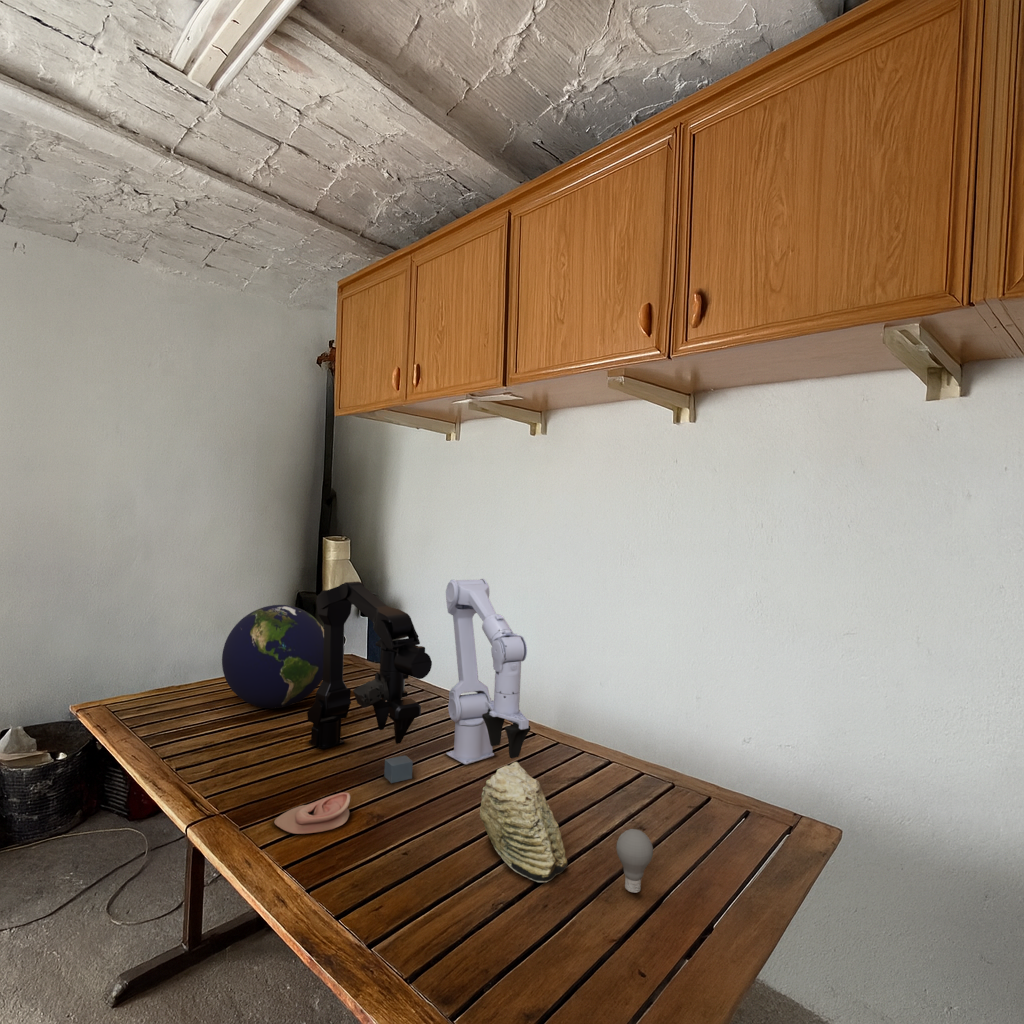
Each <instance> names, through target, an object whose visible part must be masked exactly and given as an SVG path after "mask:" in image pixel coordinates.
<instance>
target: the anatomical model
mask: <svg viewBox="0 0 1024 1024" xmlns="http://www.w3.org/2000/svg"><path fill="white" fill-rule="evenodd" d="M350 803H351V794H350V792H347V791H346V792H339V793H336V794H332V795H329V796H326V797H323V798H321V799H318V800H316V801H313V802H311V803H308V804H303V805H299V806H295V807H293V808H291V809H289V810H287V811H285V812H283V813H282V814H280V815H279V816H277V817H276V818H275V819H274V825H275V826H276V827H278V828H280V829H281V830H283V831H285V832H287V833H289V834H293V835H300V834H301V835H305V834H313V833H322V832H326V831H331V830H334V829H336V828H339V827H341V826H343V825H344V824H345V823H347V821H348V820H349V817H350V809H349V808H348V807H349V806H350Z"/></svg>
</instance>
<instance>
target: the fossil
mask: <svg viewBox="0 0 1024 1024" xmlns="http://www.w3.org/2000/svg"><path fill="white" fill-rule="evenodd" d="M479 819H480V820H481V822H482V823H483V827H484V829H485V832H486V833H487V836H488V838H489V840H490V842H491V844H492V845H493V848H494V850H495V852H496V853H497V854H498V856H500V858H501V859H502V861H503V862H504V863H505V864H506V865H507V867H509V868H510V869H511V870H513V871H514V873H517V874H519V875H520V876H522V877H525V878H527V879H528V880H531V881H533V882H536V883H548V882H550V881H552V880H553V879H554V878H555V877H556V876H557V875H560V874H561V873H563V872H564V871H565V870H566V868H567V867H568V866H569V863H568V859H567V856H566V848H565V847H564V841H563V838H562V834H561V831H560V826H559V824H558V822H557V821H556V818H555V817H554V813H553V811H552V810H551V807H550V805H549V803H548V802H547V799H546V796H545V794H544V790H543V789H542V786H541V784H540V781H539V780H537V779H535V778H533V777H532V776H531V775H529V773H528V772H527V771H526V769H524V768H523V766H521V764H520V763H519V762H518V761H513V762H512V763H511V764H509V765H507V764H506V765H504V766H502V767H500V768H498V769H497V770H496V772H495V773H494V774H492V775H491V776H490V778H489V779H487V780H486V782H485V786H483V788H482V792H481V802H480V808H479Z"/></svg>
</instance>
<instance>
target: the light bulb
mask: <svg viewBox="0 0 1024 1024" xmlns="http://www.w3.org/2000/svg"><path fill="white" fill-rule="evenodd" d="M615 849H616V854H617V857H618V859H619V861H620V863H621V865H622V867H623V873H624V874H623V875H624V876H625V878H624V888H625V890H627V891H628V892H630V893H634V894H635V893H639V892H640V891H641V889H642V887H641V886H642V879H643V877H644V875H645V871H646V868H647V867H648V866H649V864H650V863H651V861H652V859H653V855H654V847H653V843H652V841H651V838H649V836H648V835H647V834H646V833H645V832H643V831H642V830H641V829H636V828H629V829H627V830H625V831H623V832H622V833H621V834H620V835H619V837H618V839H617V841H616V847H615Z"/></svg>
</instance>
